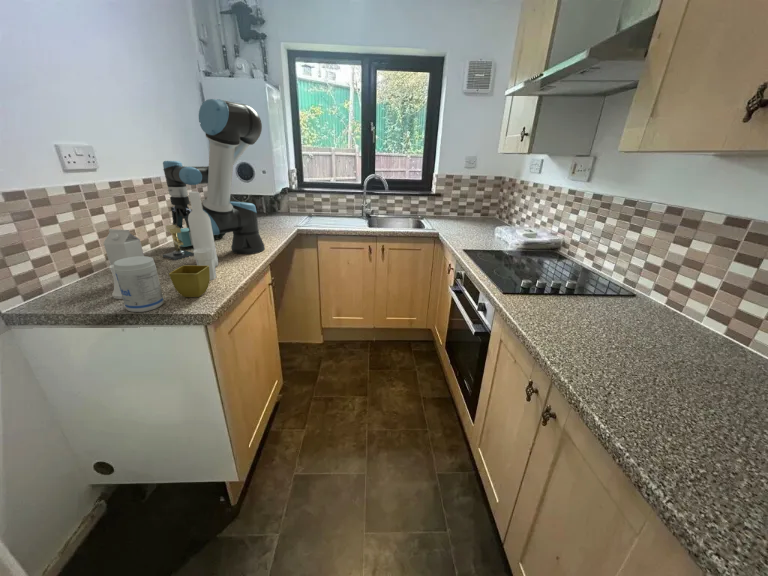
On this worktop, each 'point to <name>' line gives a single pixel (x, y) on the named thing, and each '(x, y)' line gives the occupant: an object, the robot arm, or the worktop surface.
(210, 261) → the cup
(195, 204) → the bottle
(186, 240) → the teal block
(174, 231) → the key
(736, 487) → the worktop surface
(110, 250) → the milk carton
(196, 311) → the worktop surface
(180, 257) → the plate
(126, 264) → the supplement tub
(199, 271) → the flower pot
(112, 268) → the salt shaker
